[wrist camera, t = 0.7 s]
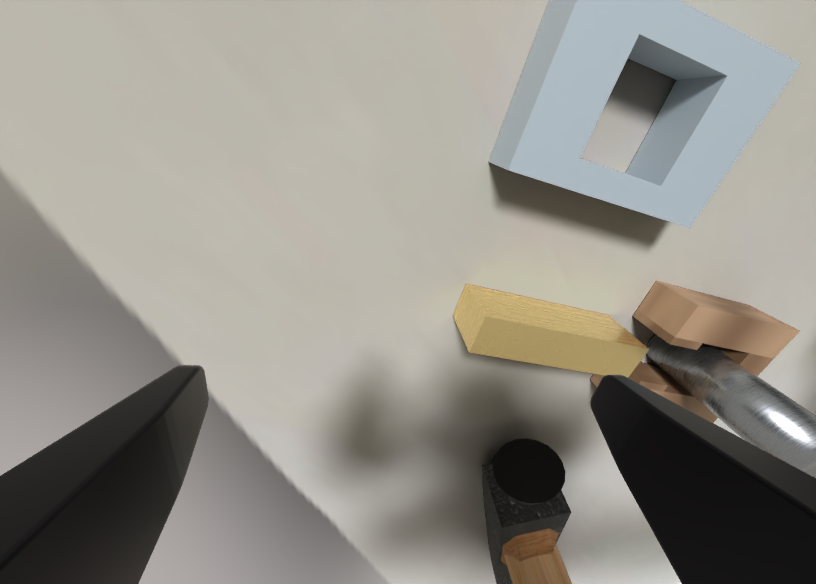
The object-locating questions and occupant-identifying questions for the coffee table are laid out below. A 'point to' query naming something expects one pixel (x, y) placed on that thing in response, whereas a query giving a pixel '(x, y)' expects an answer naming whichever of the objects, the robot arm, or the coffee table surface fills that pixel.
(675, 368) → the peg
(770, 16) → the coffee table surface
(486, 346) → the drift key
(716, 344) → the socket block
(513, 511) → the hammer
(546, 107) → the light blue rectangular frame
